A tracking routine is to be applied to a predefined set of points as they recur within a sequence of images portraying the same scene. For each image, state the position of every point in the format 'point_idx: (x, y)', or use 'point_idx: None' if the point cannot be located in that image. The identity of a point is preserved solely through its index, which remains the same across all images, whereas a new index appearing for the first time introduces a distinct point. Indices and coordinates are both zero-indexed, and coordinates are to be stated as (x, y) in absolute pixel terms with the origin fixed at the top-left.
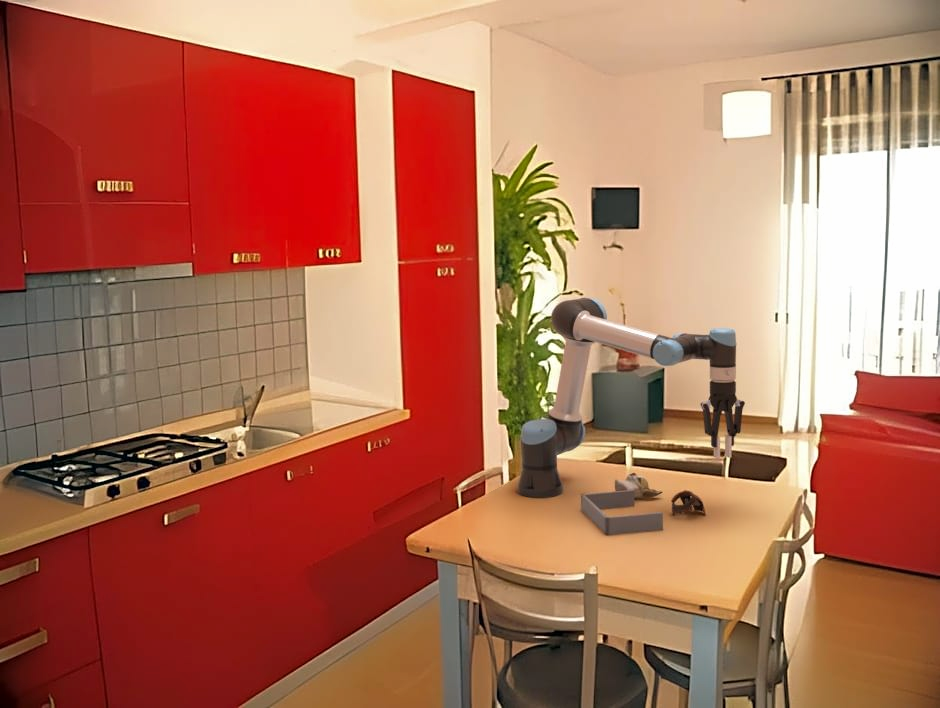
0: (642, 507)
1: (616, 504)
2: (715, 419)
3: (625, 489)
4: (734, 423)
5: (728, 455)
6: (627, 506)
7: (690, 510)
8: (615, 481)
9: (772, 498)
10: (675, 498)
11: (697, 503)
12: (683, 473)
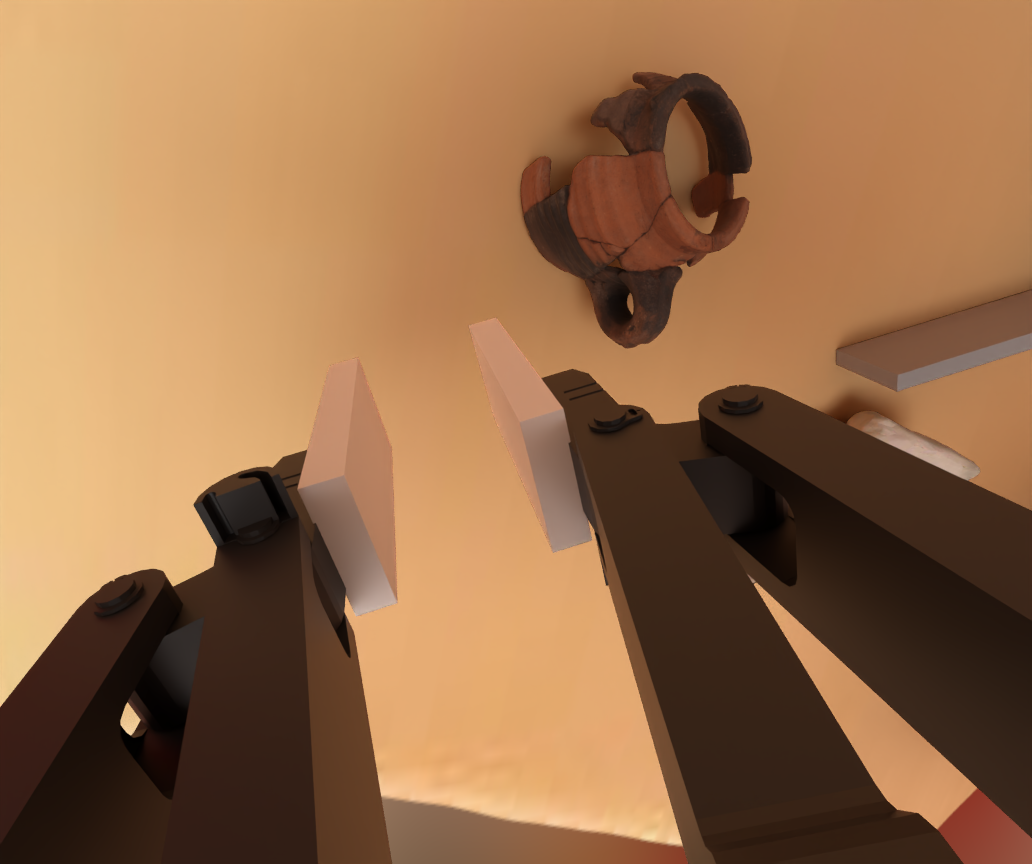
0: (805, 331)
1: (935, 327)
2: (787, 680)
3: (906, 429)
4: (165, 815)
5: (363, 380)
6: (870, 339)
7: (654, 73)
8: (973, 464)
9: (77, 501)
10: (726, 220)
11: (615, 105)
12: (497, 808)
